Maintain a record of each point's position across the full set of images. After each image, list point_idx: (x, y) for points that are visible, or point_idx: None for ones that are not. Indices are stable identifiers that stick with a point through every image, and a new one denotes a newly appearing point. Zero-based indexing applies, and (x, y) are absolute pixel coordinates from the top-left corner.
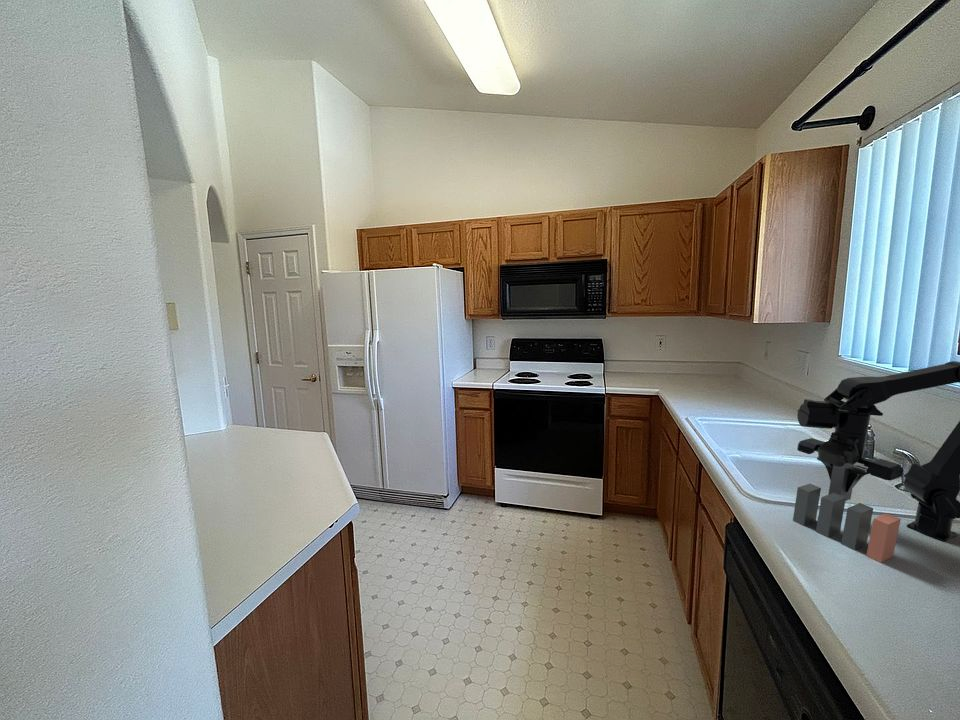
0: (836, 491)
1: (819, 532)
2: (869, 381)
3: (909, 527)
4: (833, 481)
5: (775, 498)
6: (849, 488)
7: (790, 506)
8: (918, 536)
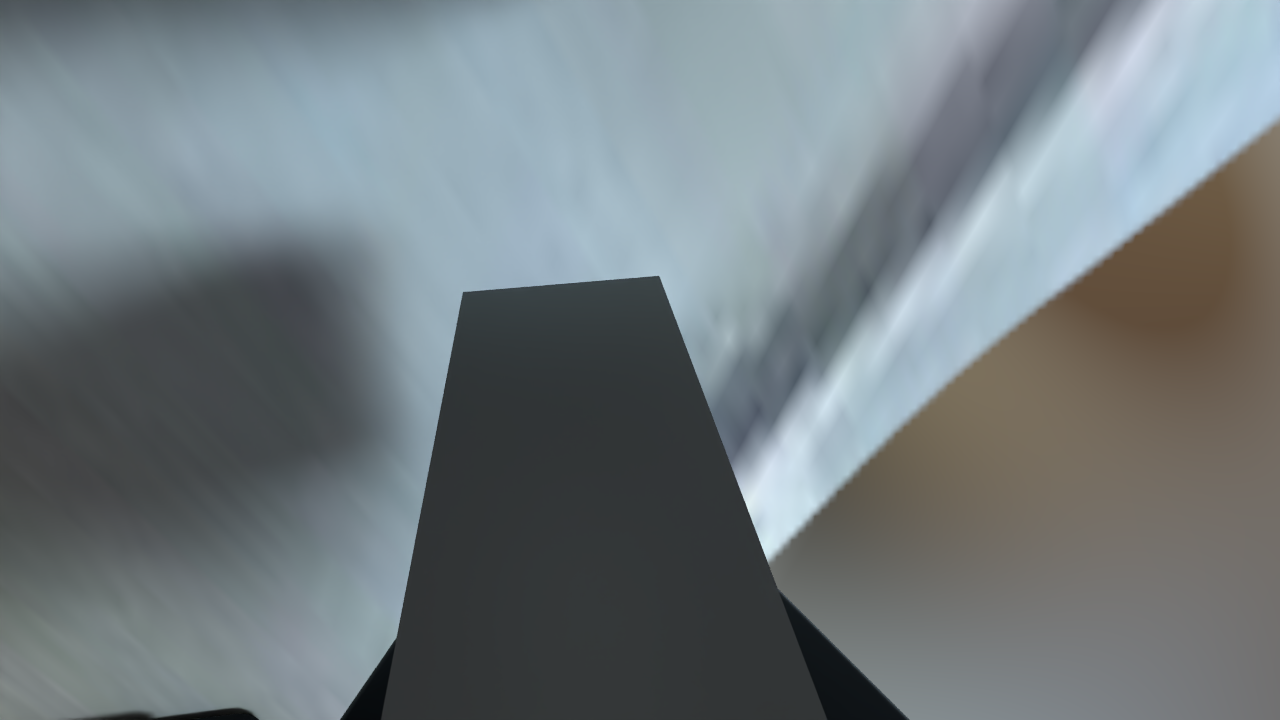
0: (537, 404)
1: None
2: None
3: (227, 718)
4: (677, 571)
5: (1178, 60)
6: (372, 674)
7: (978, 34)
8: (107, 664)
